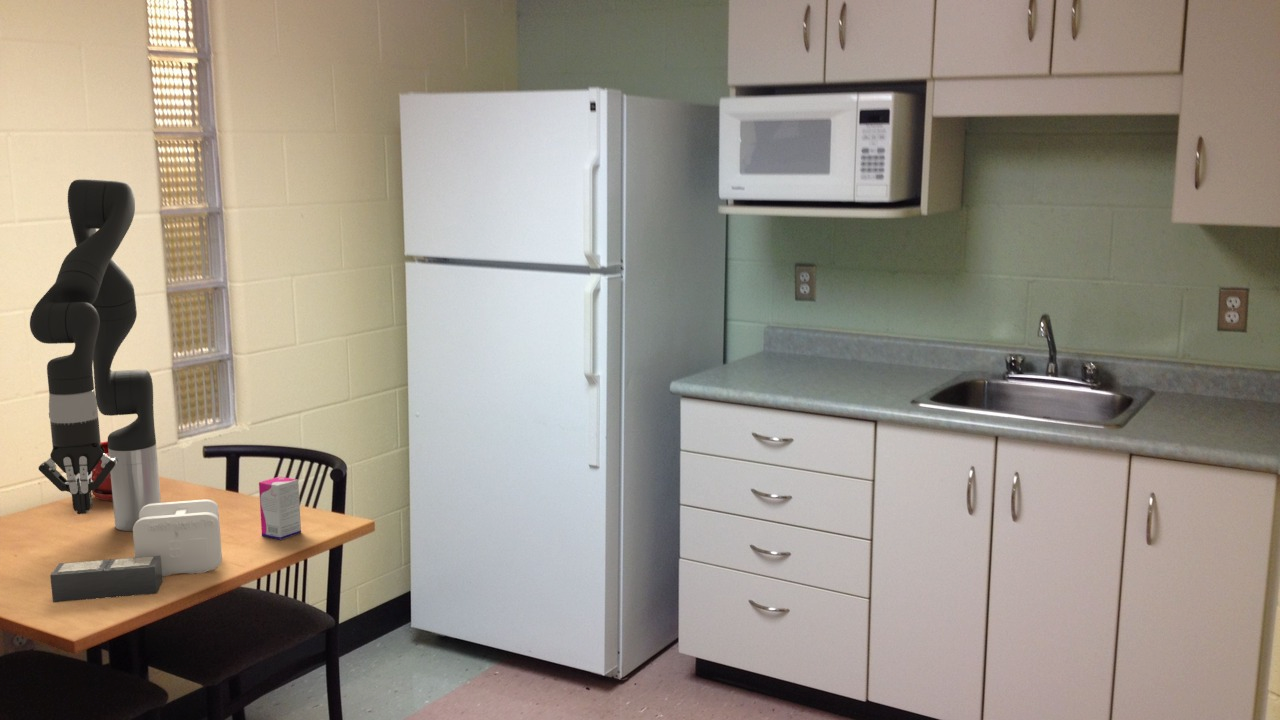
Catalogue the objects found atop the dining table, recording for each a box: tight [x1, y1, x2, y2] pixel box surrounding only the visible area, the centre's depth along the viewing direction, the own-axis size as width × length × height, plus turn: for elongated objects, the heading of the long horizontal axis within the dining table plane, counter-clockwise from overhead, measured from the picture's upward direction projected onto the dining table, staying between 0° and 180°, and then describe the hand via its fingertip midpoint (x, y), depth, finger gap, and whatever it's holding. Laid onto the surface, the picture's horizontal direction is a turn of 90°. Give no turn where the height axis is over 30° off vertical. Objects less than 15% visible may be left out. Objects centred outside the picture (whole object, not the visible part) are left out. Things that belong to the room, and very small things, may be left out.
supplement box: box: [258, 476, 302, 541], centre depth 234 cm, size 6×6×12 cm
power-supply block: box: [49, 556, 164, 603], centre depth 203 cm, size 6×17×5 cm, turn 103°
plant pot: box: [91, 440, 113, 502], centre depth 262 cm, size 13×13×12 cm
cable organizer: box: [132, 498, 223, 578], centre depth 215 cm, size 15×11×12 cm
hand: (83, 512), depth 201 cm, fingers closed
